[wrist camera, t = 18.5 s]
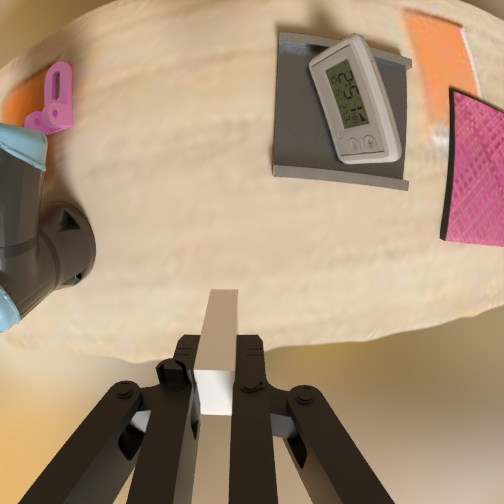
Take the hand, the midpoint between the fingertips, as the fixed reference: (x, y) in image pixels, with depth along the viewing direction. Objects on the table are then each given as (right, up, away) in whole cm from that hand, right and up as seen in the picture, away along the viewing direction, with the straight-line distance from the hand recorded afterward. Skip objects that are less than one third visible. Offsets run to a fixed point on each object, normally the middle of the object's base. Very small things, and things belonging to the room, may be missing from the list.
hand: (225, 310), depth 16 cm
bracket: (-31, +30, +19) cm, 47 cm away
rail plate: (+15, +24, +20) cm, 34 cm away
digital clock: (+14, +24, +19) cm, 33 cm away
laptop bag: (+55, +18, +23) cm, 62 cm away
